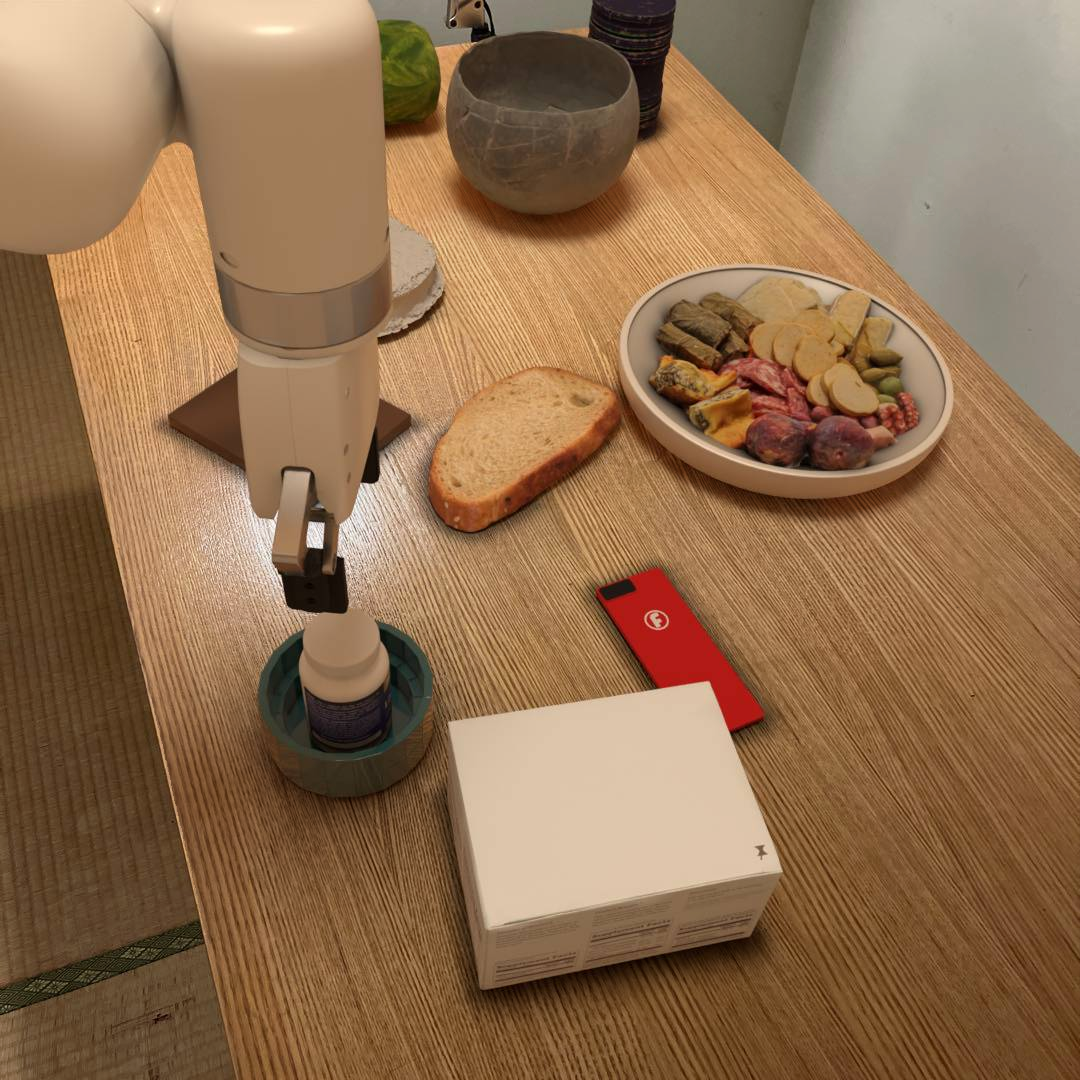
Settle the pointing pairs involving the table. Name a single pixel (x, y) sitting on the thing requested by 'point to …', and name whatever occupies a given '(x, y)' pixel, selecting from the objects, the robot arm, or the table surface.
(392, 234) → the grey pie
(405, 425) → the walnut board
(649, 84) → the dark purple ridged cylinder
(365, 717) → the pill bottle
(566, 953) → the supplement box
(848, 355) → the bowl
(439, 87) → the lettuce
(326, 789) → the teal bowl
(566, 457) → the bread slice
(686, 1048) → the table surface
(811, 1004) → the table surface
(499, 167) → the bowl
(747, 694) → the electronic device
